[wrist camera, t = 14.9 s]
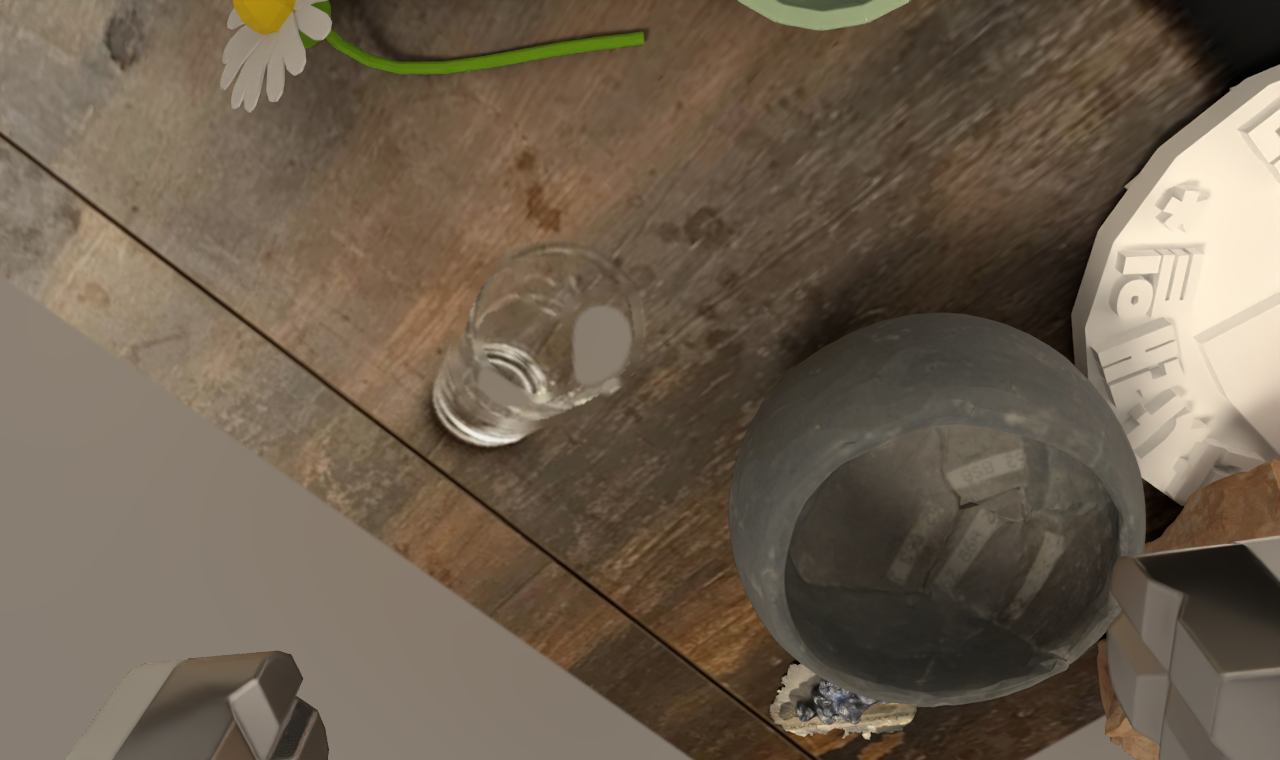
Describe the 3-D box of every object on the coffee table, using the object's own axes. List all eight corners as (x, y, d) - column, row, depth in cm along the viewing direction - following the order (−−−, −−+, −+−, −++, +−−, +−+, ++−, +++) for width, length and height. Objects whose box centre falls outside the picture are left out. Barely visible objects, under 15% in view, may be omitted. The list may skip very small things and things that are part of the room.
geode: (940, 705, 47) (950, 734, 45) (807, 761, 49) (811, 791, 47) (879, 621, 45) (887, 648, 43) (742, 684, 47) (744, 713, 45)
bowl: (1124, 303, 36) (1268, 424, 27) (995, 586, 43) (1076, 758, 34) (767, 236, 36) (796, 337, 27) (692, 534, 42) (695, 695, 33)
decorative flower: (624, 0, 26) (137, 76, 27) (652, 131, 31) (250, 188, 33) (609, -195, 28) (166, -115, 30) (637, -40, 34) (266, 20, 36)
